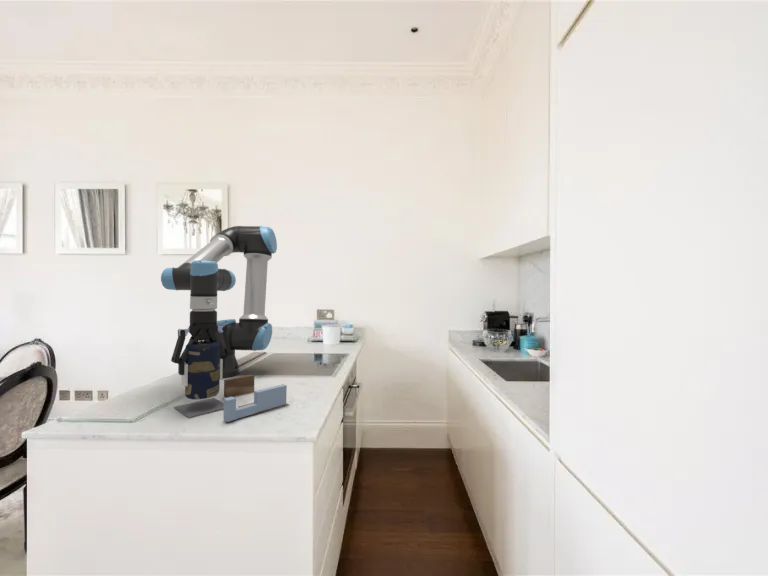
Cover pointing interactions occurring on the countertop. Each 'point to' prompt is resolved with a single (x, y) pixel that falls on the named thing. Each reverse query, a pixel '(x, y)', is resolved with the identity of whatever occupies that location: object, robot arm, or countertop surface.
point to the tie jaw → (256, 402)
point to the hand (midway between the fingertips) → (202, 381)
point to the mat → (200, 407)
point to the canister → (203, 370)
